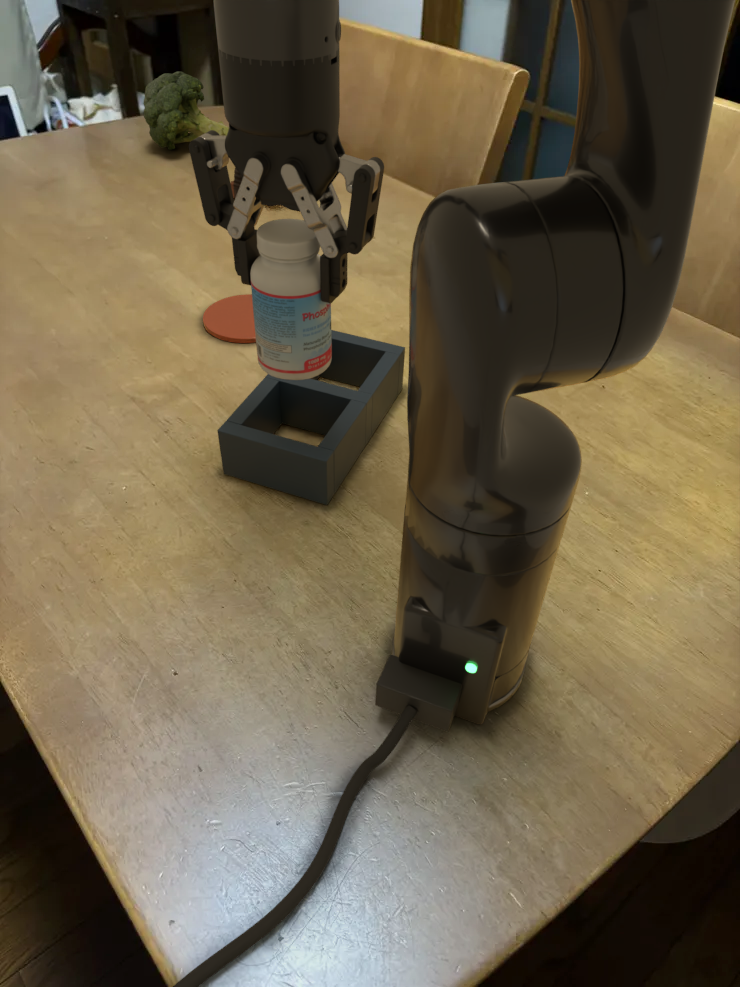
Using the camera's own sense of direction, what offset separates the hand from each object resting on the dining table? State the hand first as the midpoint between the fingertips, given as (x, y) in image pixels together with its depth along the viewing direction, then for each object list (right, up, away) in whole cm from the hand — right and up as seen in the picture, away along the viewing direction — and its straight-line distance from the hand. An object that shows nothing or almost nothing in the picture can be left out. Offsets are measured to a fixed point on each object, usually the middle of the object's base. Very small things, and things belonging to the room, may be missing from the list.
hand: (291, 288), depth 58 cm
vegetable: (-24, +43, +70) cm, 85 cm away
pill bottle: (0, -5, +5) cm, 7 cm away
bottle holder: (+1, -10, +15) cm, 17 cm away
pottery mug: (-10, +29, +55) cm, 63 cm away
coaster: (-8, +4, +29) cm, 30 cm away
